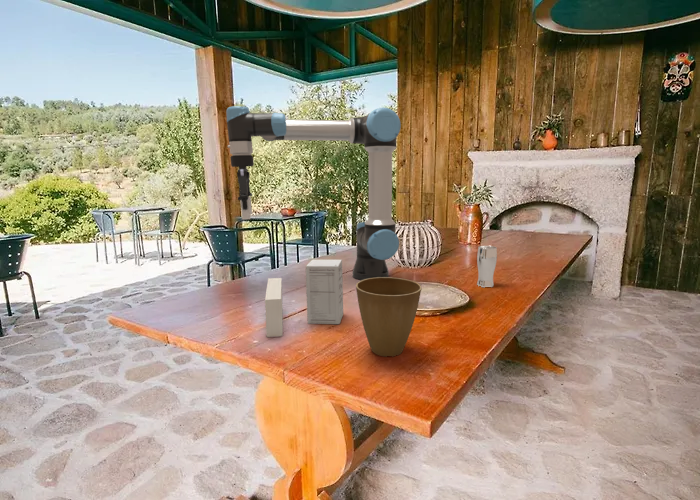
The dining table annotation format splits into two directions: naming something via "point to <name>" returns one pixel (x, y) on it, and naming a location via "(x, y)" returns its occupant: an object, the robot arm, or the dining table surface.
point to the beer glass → (486, 265)
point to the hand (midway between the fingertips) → (247, 216)
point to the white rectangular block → (274, 307)
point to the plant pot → (388, 312)
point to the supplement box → (324, 291)
